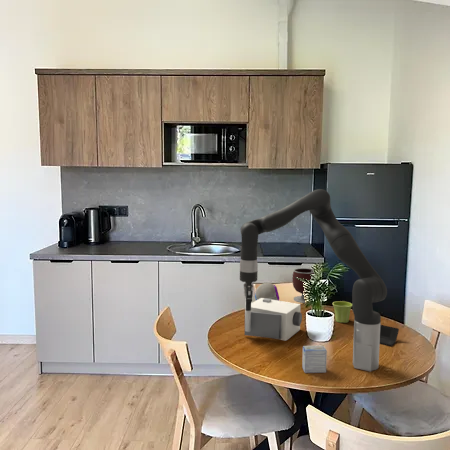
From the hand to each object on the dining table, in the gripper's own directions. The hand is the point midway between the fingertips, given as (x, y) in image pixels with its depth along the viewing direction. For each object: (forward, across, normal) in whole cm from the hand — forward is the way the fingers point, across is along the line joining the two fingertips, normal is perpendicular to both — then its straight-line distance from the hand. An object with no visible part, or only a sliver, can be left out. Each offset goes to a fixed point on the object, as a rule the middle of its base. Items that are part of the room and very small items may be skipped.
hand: (248, 309), depth 185 cm
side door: (+13, -1, -6) cm, 14 cm away
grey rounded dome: (+14, +40, -13) cm, 44 cm away
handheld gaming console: (+14, -1, -58) cm, 60 cm away
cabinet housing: (+14, +10, -12) cm, 21 cm away
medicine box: (+13, -30, -22) cm, 40 cm away
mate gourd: (+14, +60, -37) cm, 72 cm away
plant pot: (+14, +24, -48) cm, 55 cm away
